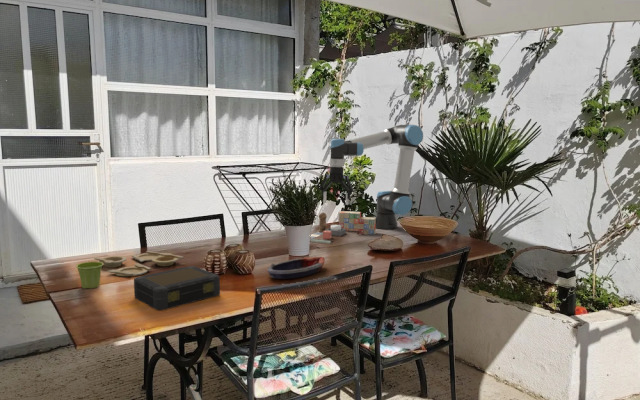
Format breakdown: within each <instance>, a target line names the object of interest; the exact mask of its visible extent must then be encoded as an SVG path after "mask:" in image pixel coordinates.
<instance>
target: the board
mask: <svg viewBox="0 0 640 400" xmlns="http://www.w3.org/2000/svg"><path fill="white" fill-rule="evenodd" d="M326 231H332V236H334V237H342V236H343V235H345V234H346V233H347V230H346V229H344V228H341V231H333V230H331V227H330V228H326ZM310 235H311V236H310V237H311V243H321V244H328V245H329V244H331V243H334V242H335V240H331V239H319V238H317V237H320V236H321V235H322V236H323V232H318V231H317V232H314V233H312V234H310Z"/></svg>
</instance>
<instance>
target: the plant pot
mask: <svg viewBox="0 0 640 400" xmlns="http://www.w3.org/2000/svg"><path fill="white" fill-rule="evenodd" d="M103 266H104V264H103V263H101V262H99V261H87V262H86V261H85V262H81V263H78V264H77V265H76V266H75V268H77V271H78V275H79V279H80V283H81V287H82V288H83V289H96V288H98V287H99V286H100V283H101V273H102V267H103Z"/></svg>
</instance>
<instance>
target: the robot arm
mask: <svg viewBox="0 0 640 400" xmlns="http://www.w3.org/2000/svg"><path fill="white" fill-rule="evenodd" d="M423 141H424V133H423V130H422V128H421V127H420V126H418V125H416V124H398V125H396V126H391V127H389V128H386V129H384V130H383V131H380V132H377V133H373V134H368V135H364V136H361V137H357V138H353V139H349V140H345V139H343V138H332V139H331V140H330V147H329V148H330V162H329V165H330V167H329V174H328V173H326V174H324V178H323V180H322V182H321V184H320V186H319V188H318V189H320V190H319V191H321V197H322V198H323V200H322V201H323V204H325V203H327V190H328V189H329V187H330V186H331V185H332V184H334V183H336V184H340V185H341V186H342V188H343V189H344V191H345V192H346V193H345V206H346V205H347V206H349V201H350V200H351V193H353V192H355V190H354V188H353V186H352V183H351V181H350V176H349V175H344V162H345V161H344V159H345V158H344V157H347V156H348V157H360V156H362V155H363V154H364V150H367V149H371V148H375V147H378V146H382V145H385V144H386V145H387V146H388V145H393V144H398V145H397V147H398V148H399V155H398V162H397V167H396V172H395V179H394V186H393V189H391V190H384V191H377V194H376V215H375V218H376V229H379V228H380V230H381V229H382V230H394V228H395V229H397V228H398V221H397V216H396V215H399V216H404V215H406V214H408V213H409V212H410V211H411V209H412V206H413V201H412V199H411V198H410V197H411V193H410V191H409V186H410V181H411V174H412V169H413V168H412V167H413V162H414V156H415V151H417V150H418V147H419V145H420V144H421V143H422V142H423ZM328 179H330V180H329V181H328ZM343 179H344V180H345V181H344V180H343ZM327 181H328V182H327ZM326 182H327V183H326ZM345 182H346V183H345ZM346 184H347V185H346Z"/></svg>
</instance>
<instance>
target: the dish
mask: <svg viewBox="0 0 640 400" xmlns="http://www.w3.org/2000/svg"><path fill="white" fill-rule="evenodd" d="M325 260H326V259H325V257H322V256H311V257H309V256H308V257H300V258H294V259H289V260H284V261H281V262H277V263H271V264H270V265H269V267H268V268H267V272H268V274H269V276H270V277H271V278H273V279H277V280H288V279H289V280H290V279H291V280H292V279H298V278H304V277H307V276H312V275H314V274H316V273H318V272H321V270H322V269H323V266H324V265H325Z"/></svg>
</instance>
